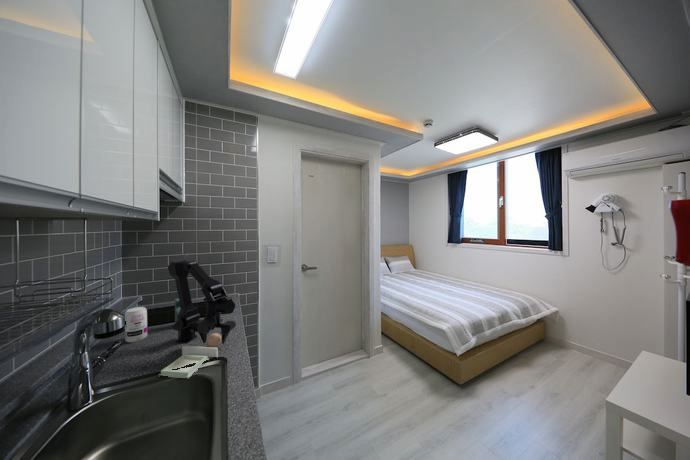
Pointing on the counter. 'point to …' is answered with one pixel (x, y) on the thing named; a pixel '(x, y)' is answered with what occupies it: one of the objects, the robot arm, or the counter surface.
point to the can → (177, 309)
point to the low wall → (200, 351)
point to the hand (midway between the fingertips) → (214, 343)
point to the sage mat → (183, 362)
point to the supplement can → (136, 324)
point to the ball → (213, 340)
